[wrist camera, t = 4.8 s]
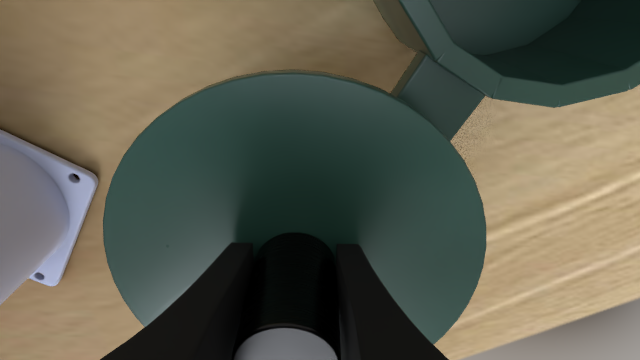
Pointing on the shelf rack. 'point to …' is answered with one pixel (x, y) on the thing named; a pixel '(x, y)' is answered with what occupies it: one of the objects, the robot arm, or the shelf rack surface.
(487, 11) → the pot
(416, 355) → the robot arm
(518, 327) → the shelf rack surface
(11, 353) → the shelf rack surface
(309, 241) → the pot lid
